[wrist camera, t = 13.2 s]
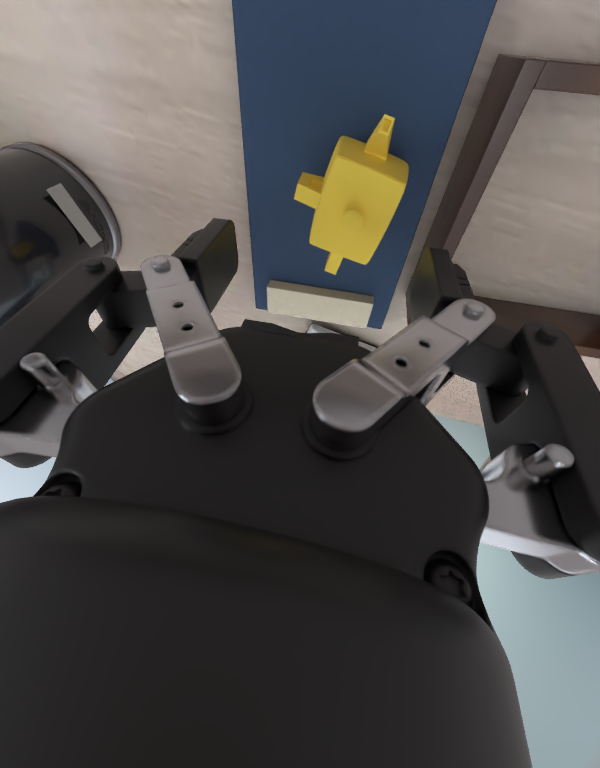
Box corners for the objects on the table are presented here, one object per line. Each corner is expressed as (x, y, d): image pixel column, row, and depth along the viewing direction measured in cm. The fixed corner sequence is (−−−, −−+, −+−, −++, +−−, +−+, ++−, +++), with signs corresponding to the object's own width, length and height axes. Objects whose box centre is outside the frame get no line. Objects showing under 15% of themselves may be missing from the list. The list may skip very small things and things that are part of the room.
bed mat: (259, 301, 28) (252, 315, 27) (234, -83, 13) (213, -99, 11) (381, 321, 27) (380, 337, 26) (514, -68, 12) (533, -83, 10)
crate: (405, 294, 25) (407, 326, 22) (498, 54, 14) (526, 57, 11) (610, 326, 23) (641, 365, 21) (883, 87, 13) (1022, 101, 10)
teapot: (330, 77, 15) (314, 87, 12) (429, 121, 16) (440, 143, 12) (292, 228, 21) (275, 263, 18) (364, 256, 22) (360, 294, 18)
